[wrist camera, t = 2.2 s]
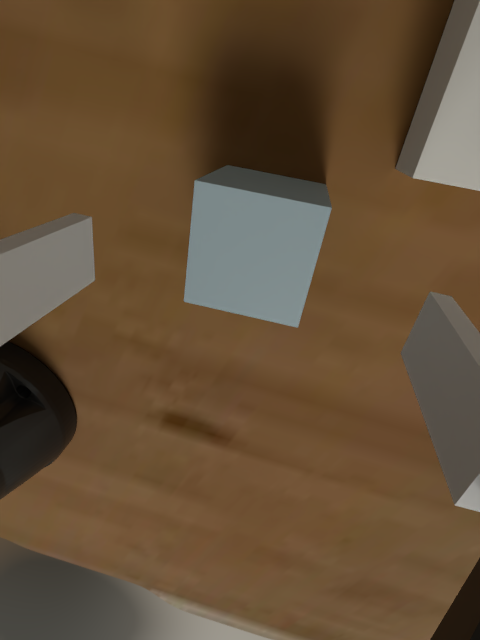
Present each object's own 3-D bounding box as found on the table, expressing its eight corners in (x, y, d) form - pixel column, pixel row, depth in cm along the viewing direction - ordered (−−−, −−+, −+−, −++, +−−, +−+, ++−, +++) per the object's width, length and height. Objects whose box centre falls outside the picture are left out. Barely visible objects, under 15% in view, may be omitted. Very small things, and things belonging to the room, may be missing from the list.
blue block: (215, 258, 25) (183, 301, 18) (227, 164, 22) (194, 180, 16) (301, 276, 24) (297, 327, 18) (325, 184, 21) (331, 208, 15)
